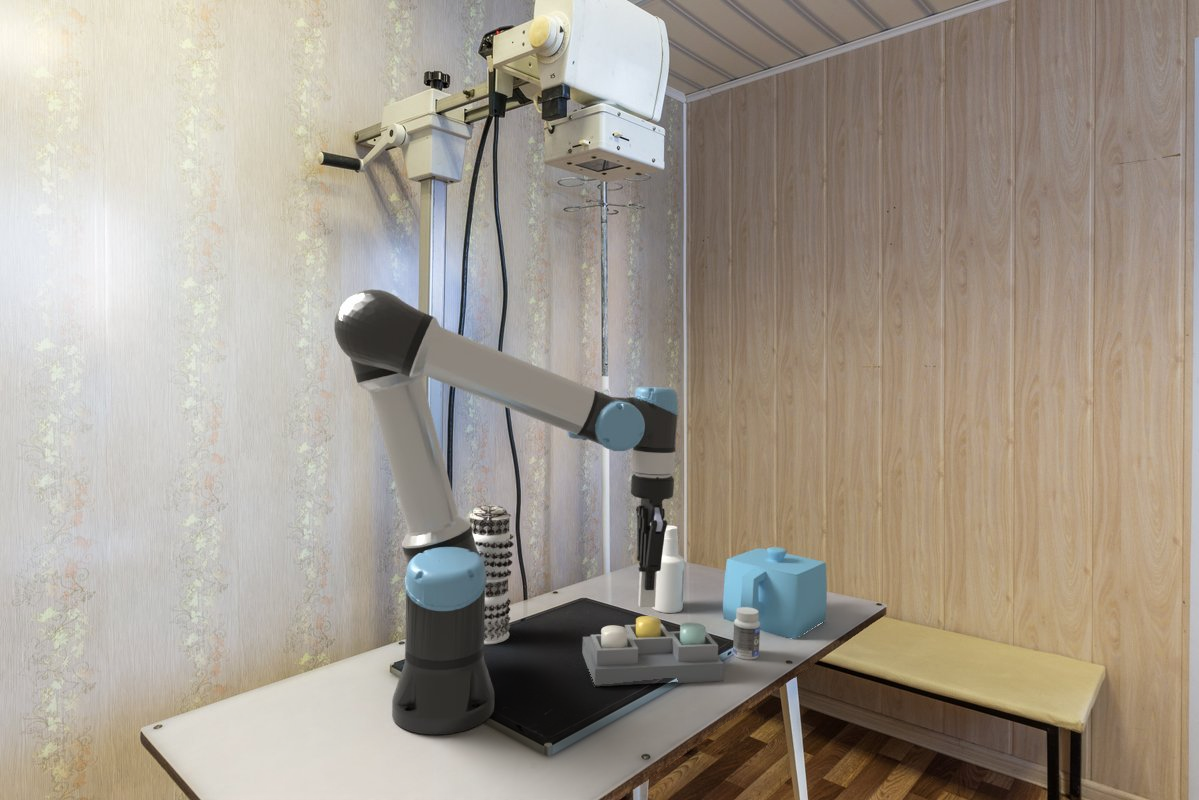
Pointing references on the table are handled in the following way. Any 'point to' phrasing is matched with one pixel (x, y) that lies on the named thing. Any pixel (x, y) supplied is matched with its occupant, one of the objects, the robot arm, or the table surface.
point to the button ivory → (613, 637)
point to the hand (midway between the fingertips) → (646, 605)
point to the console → (652, 659)
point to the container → (777, 590)
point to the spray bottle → (670, 575)
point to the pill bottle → (746, 633)
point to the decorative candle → (494, 567)
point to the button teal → (692, 634)
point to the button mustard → (648, 627)
